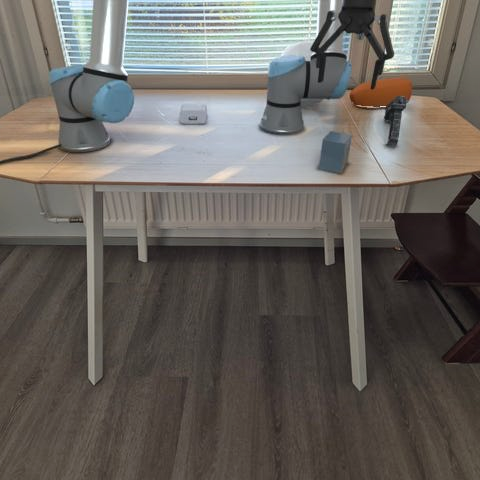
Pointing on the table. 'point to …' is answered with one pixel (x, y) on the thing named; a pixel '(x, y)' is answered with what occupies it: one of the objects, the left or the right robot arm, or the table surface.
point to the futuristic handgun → (395, 118)
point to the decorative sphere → (305, 51)
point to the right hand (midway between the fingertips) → (346, 85)
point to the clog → (381, 92)
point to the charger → (193, 113)
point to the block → (335, 152)
